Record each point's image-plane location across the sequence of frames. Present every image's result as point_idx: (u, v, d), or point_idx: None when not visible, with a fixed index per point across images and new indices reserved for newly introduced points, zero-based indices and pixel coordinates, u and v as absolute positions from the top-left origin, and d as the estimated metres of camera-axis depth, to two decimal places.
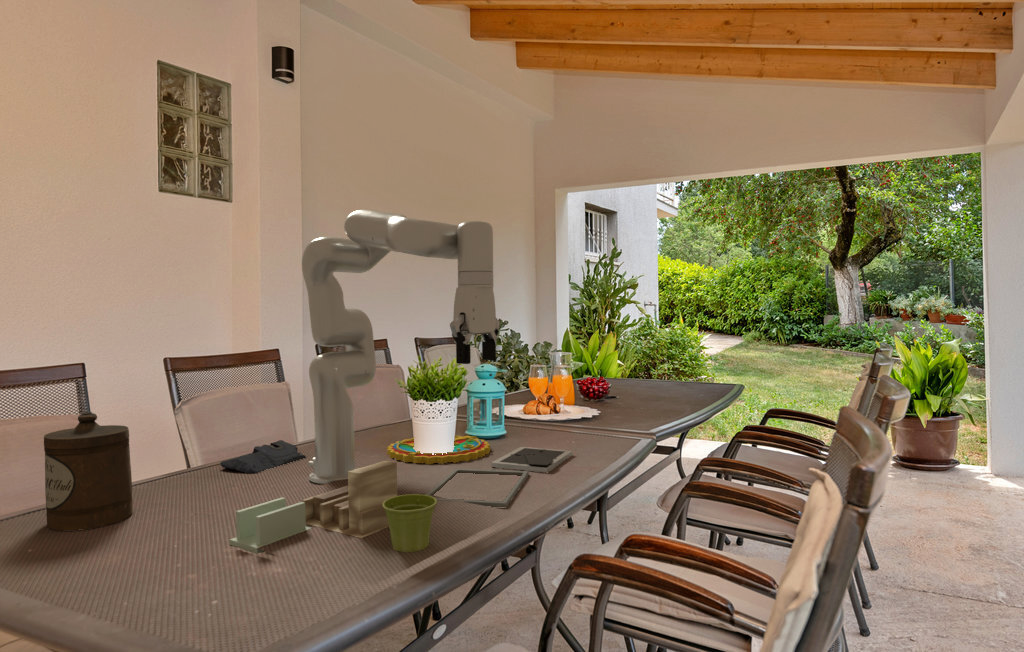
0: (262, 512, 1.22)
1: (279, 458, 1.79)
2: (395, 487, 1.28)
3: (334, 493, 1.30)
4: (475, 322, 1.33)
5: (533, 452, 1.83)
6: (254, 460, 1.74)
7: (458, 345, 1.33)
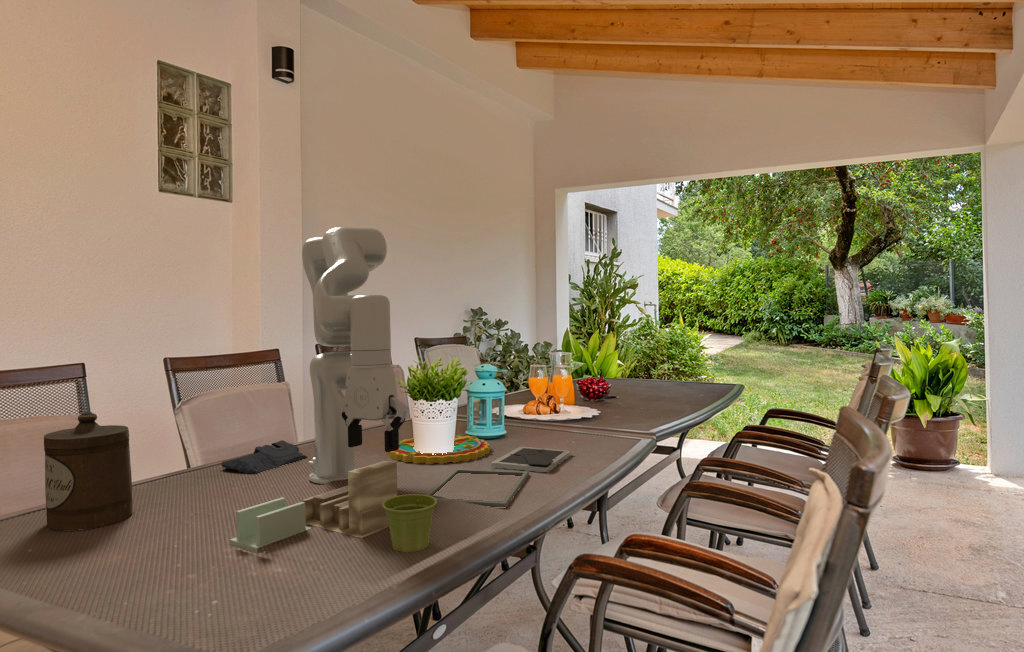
0: (262, 512, 1.22)
1: (281, 458, 1.78)
2: (395, 487, 1.28)
3: (334, 493, 1.30)
4: None
5: (532, 452, 1.83)
6: (255, 460, 1.73)
7: (393, 431, 1.21)
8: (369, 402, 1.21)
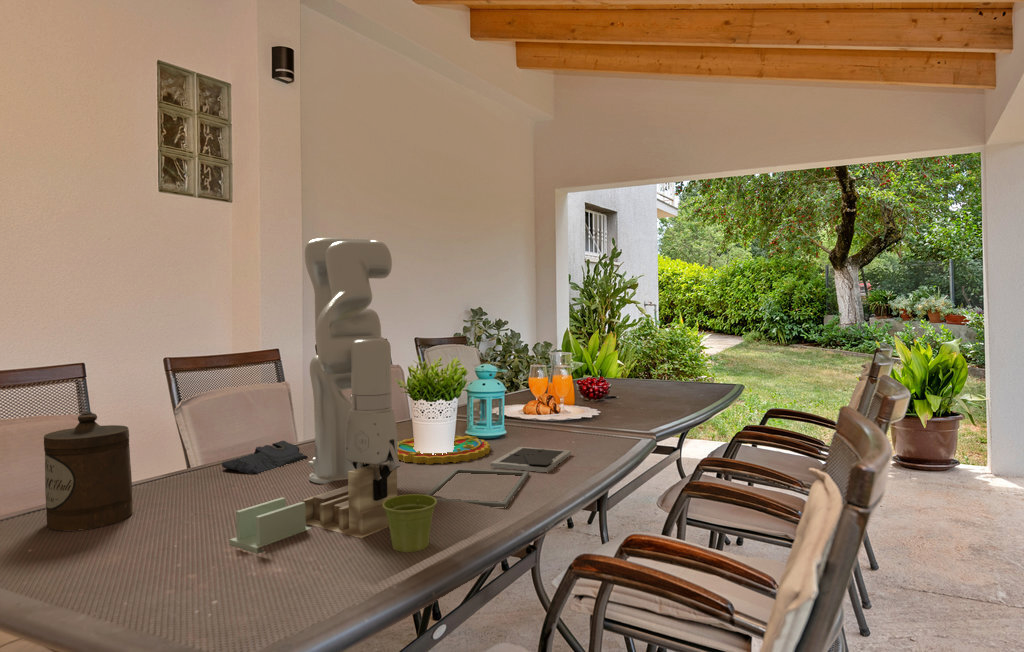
0: (262, 512, 1.22)
1: (281, 458, 1.78)
2: (395, 487, 1.28)
3: (334, 493, 1.30)
4: None
5: (532, 452, 1.83)
6: (255, 460, 1.73)
7: (382, 480, 1.23)
8: (369, 447, 1.22)
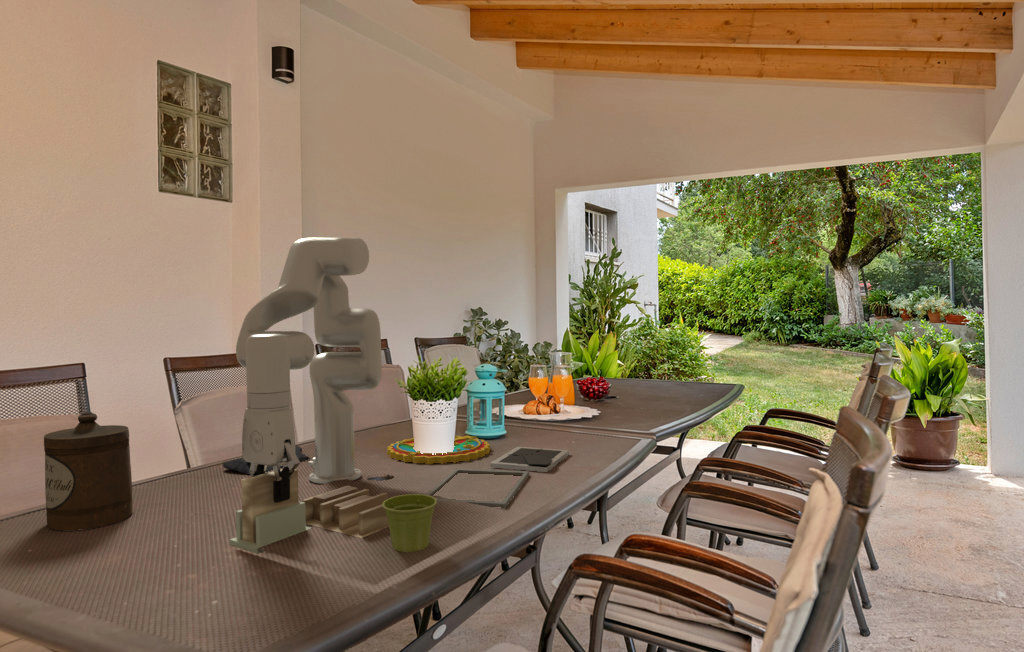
0: None
1: None
2: (296, 495, 1.23)
3: (334, 493, 1.30)
4: None
5: (530, 452, 1.83)
6: None
7: (282, 481, 1.18)
8: (264, 447, 1.17)
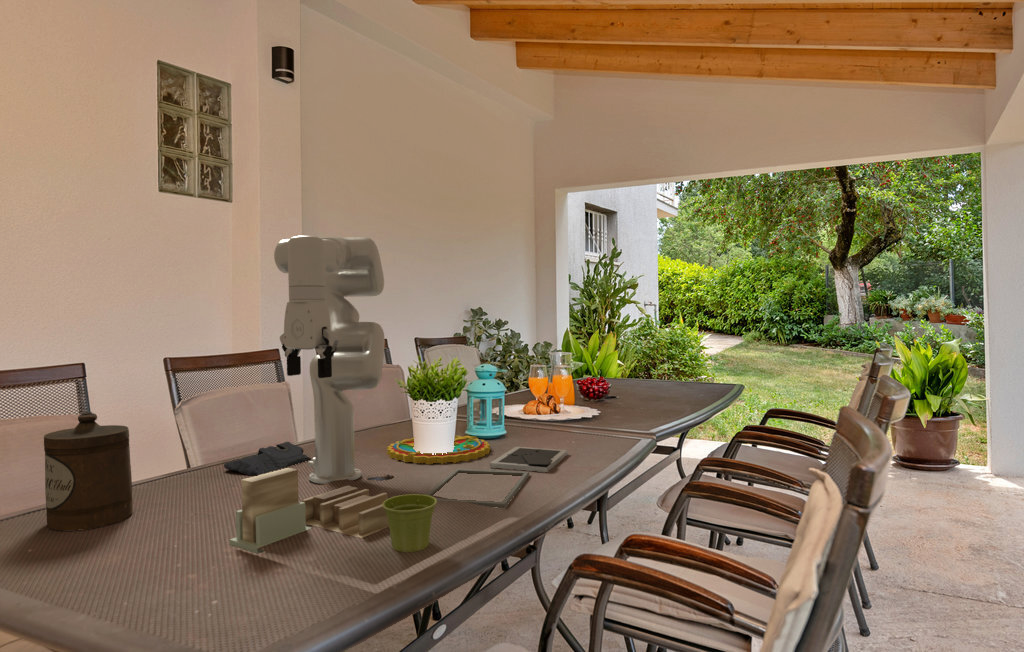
0: None
1: (284, 460, 1.76)
2: (296, 495, 1.23)
3: (334, 493, 1.30)
4: None
5: (529, 452, 1.83)
6: (257, 462, 1.72)
7: (325, 359, 1.34)
8: (304, 333, 1.34)
